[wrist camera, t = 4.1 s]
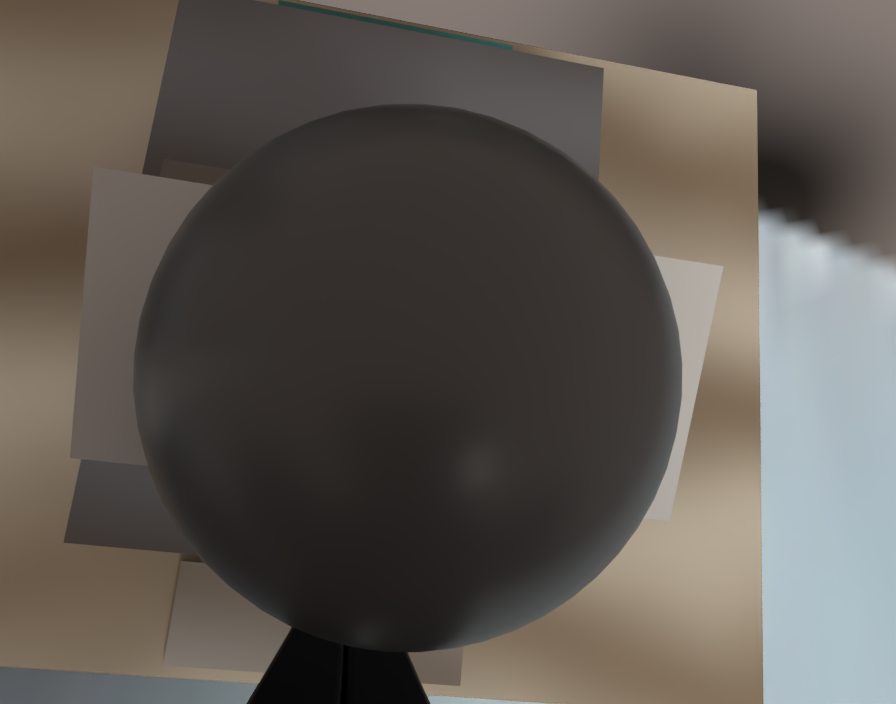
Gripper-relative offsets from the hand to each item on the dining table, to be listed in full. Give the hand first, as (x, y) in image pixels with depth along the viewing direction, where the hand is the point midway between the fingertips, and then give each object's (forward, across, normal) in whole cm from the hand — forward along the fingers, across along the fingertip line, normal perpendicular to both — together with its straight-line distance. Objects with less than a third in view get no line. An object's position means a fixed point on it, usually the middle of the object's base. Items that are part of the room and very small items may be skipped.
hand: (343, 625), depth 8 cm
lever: (+8, 0, -1) cm, 8 cm away
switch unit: (+11, 0, +2) cm, 11 cm away
